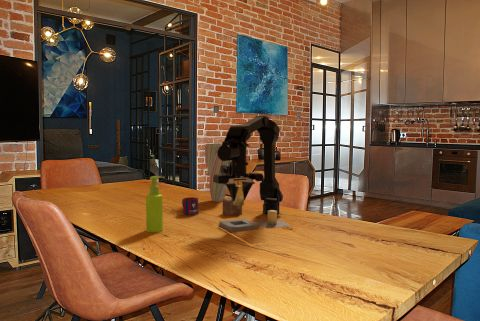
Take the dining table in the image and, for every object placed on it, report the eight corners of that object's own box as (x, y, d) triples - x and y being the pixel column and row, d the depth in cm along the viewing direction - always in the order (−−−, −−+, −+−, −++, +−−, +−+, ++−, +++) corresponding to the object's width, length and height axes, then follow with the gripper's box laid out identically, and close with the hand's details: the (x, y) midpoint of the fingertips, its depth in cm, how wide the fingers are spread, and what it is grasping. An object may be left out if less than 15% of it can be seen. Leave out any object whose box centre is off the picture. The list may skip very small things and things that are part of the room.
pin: (240, 203, 148) (241, 185, 148) (245, 205, 145) (245, 186, 144) (231, 204, 146) (231, 185, 146) (236, 205, 143) (236, 187, 142)
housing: (235, 212, 174) (235, 197, 173) (241, 215, 168) (242, 199, 168) (222, 213, 171) (222, 198, 171) (228, 216, 165) (228, 200, 165)
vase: (235, 200, 206) (236, 143, 203) (221, 203, 194) (221, 144, 192) (215, 197, 213) (215, 143, 211) (199, 201, 202) (199, 143, 199)
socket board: (244, 223, 154) (244, 218, 153) (258, 229, 144) (258, 224, 144) (219, 226, 149) (219, 221, 148) (231, 233, 139) (231, 227, 139)
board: (276, 220, 158) (276, 207, 158) (291, 226, 149) (292, 212, 148) (253, 223, 154) (253, 209, 153) (267, 229, 144) (267, 215, 143)
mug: (186, 216, 166) (186, 200, 166) (177, 211, 175) (177, 197, 174) (200, 214, 170) (200, 199, 169) (191, 210, 178) (191, 195, 178)
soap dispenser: (167, 228, 145) (166, 175, 143) (157, 233, 138) (156, 177, 137) (153, 227, 147) (152, 174, 145) (143, 231, 140) (142, 176, 139)
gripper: (250, 157, 156) (250, 195, 157) (207, 158, 147) (207, 199, 148) (264, 159, 146) (264, 200, 147) (219, 160, 137) (219, 204, 138)
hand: (238, 200), depth 145 cm, fingers closed on pin, 4 cm apart
